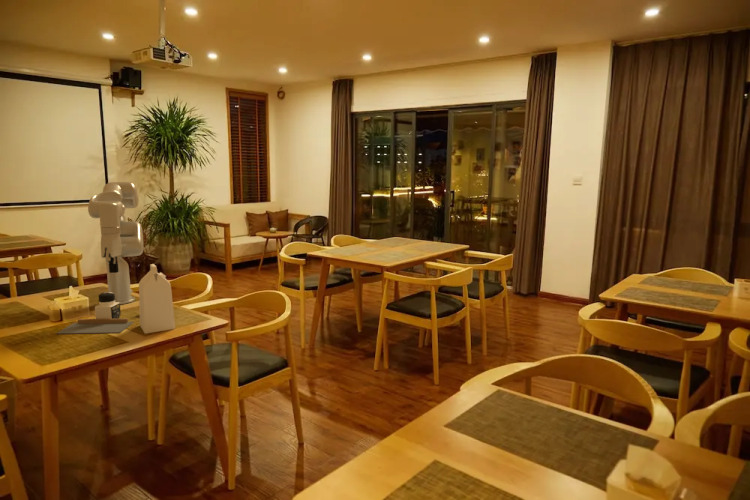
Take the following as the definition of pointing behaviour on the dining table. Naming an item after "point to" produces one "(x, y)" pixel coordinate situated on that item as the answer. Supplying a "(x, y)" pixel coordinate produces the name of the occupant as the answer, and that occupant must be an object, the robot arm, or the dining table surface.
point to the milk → (155, 302)
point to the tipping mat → (96, 326)
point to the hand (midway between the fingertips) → (114, 272)
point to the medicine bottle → (107, 307)
